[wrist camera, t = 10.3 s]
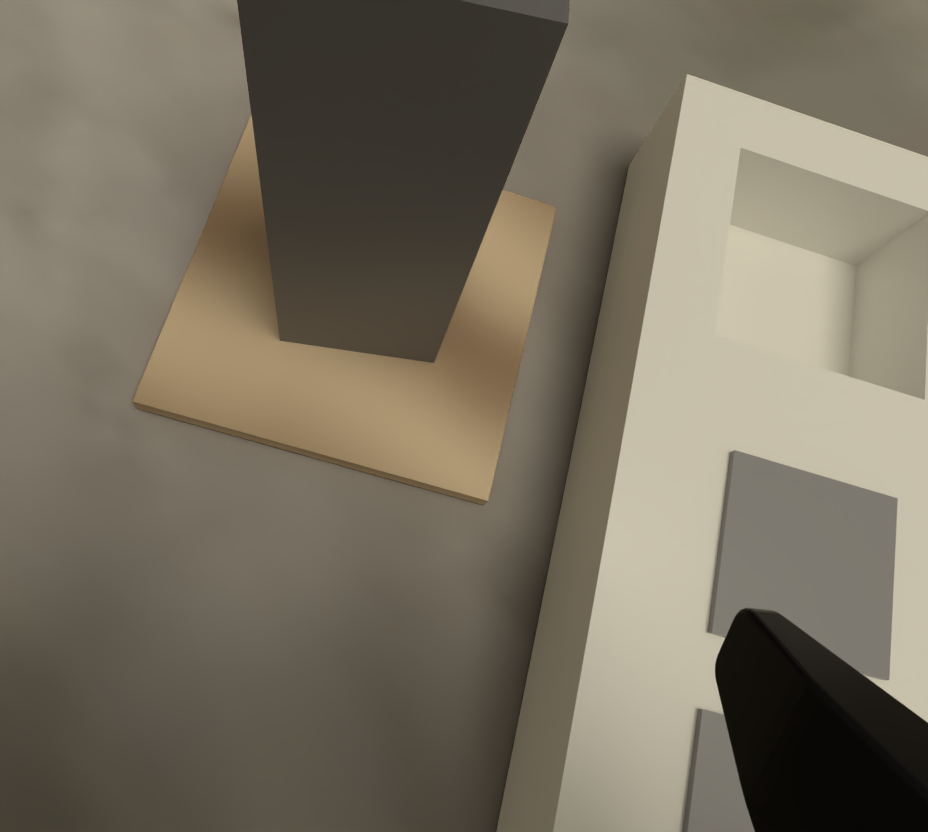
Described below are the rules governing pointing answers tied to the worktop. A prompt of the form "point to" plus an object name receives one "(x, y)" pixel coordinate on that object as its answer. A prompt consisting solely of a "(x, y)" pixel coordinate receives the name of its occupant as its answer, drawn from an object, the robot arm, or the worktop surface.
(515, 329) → the wooden pad
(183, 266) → the worktop surface
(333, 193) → the plug
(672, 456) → the power strip
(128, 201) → the worktop surface
